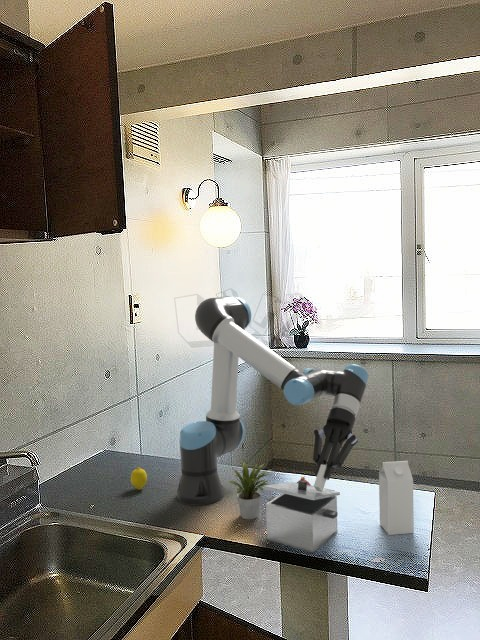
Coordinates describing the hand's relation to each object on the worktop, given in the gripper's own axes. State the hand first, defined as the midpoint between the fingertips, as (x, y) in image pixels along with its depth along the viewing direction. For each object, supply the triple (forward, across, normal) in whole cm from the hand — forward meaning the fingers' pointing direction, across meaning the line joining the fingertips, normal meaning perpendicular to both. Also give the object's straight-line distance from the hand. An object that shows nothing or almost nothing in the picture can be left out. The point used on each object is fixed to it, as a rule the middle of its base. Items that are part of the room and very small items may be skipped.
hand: (317, 489), depth 149 cm
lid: (+1, +5, -2) cm, 6 cm away
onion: (-4, +16, -24) cm, 30 cm away
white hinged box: (+10, +5, -10) cm, 15 cm away
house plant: (+8, +24, -12) cm, 28 cm away
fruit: (+9, +69, -11) cm, 71 cm away
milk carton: (-2, -15, -22) cm, 27 cm away
